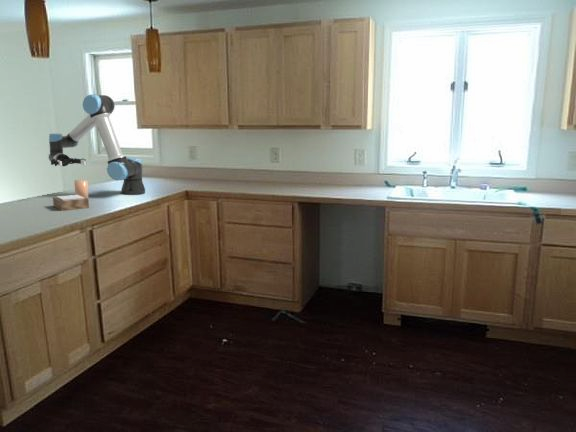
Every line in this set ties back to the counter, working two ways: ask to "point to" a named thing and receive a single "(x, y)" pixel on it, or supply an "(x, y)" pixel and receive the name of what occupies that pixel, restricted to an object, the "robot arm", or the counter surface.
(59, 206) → the walnut base
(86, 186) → the peach glossy cylinder
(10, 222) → the counter surface
